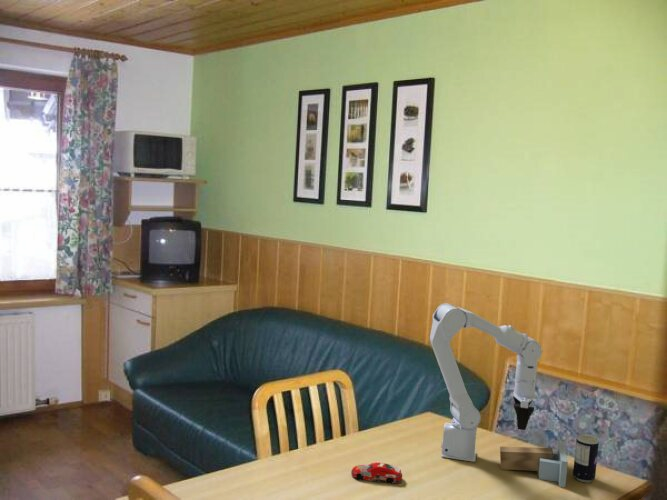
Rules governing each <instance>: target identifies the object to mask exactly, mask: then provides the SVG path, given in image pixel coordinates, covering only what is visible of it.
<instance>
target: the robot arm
mask: <svg viewBox="0 0 667 500" xmlns="http://www.w3.org/2000/svg"><path fill="white" fill-rule="evenodd" d="M431 323H432V324H431V330H430V335H429V341H430V344H431V348H432V350H433V353H434V355H435V358H436V361H437V364H438V367H439V369H440V372H441V374H442V377H443V381H444V383H445V386H446V389H447V392H448V394H449V399H448V400H449V403H450V406H449V407H450V409H449V411H450V414H451V416H452V420H451V422H444V425H443V434H442V442H441V446H440V448H441V454H440V455H441V457H442V458H447V459H454V460H460V461H467V462H473V463H475V462H476V458H477V457H476V456H477V451H476V442H477V430H478V429H477V428H478V425H480V422H481V421H482V418H481V417H482V416H481V413H480V410H478V409H477V408H476V407H475V405H474V404H473V401H472V399H471V398H470V395H469V394H468V391H467V389H466V386H465V382H464V380H463V377H462V375H461V372H460V369H459V367H458V364H457V360H456V357H455V355H454V353H453V349H452V347H451V344H450V343H451V341H452V339H453V337H454V336H456V334H458V332H460V331H461V330H462V329H463V328H464V329H469V328H472V327H473V328H475V329H477V330H479V331H481V332H484V333H485V334H488V335H489V336H491V337H493V338H494V341H495V343H496V344H498V345H499V346H502V347H504V348H505V349H507V350H509V351H511V352H514V353H515V354H516V355H517V356H516V367H515V378H514V379H515V380H514V388H513V389H514V390H513V393H512V398H513V402H514V403H513V409H514V411H515V414H516V423H517V430H522V431H526V429H527V427H528V423H529V420H530V417H531V416H532V414H533V412H534V411H535V407H534V406H531V404H532V402H533V400H539V395H538V394H535V391H536V382H537V372H538V360H539V359H540V358H541V356H542V355H543V350H542V345H540V343H539V341H537V340H535V339H533V338H532V337H529V335H528V334H527V333H525V332H524V333H522V332H519V331H517V330H515V327H514V326H512V325H510V324H508V325H505V324H504V325H500V326H498V325H496V324H494V323H493V322H490V321H488V320H487V319H485V318H483V317H481V316H479V315H478V314H476V313H474V312H472V311H470V310H468V309H465V308H462V307H459V306H456V307H455V306H454V305H453V304H452V303H446V302H445V303H442V304H440V305H439V306H437V308H436V310H435V311H434V313H433V314H432V322H431Z"/></svg>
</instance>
